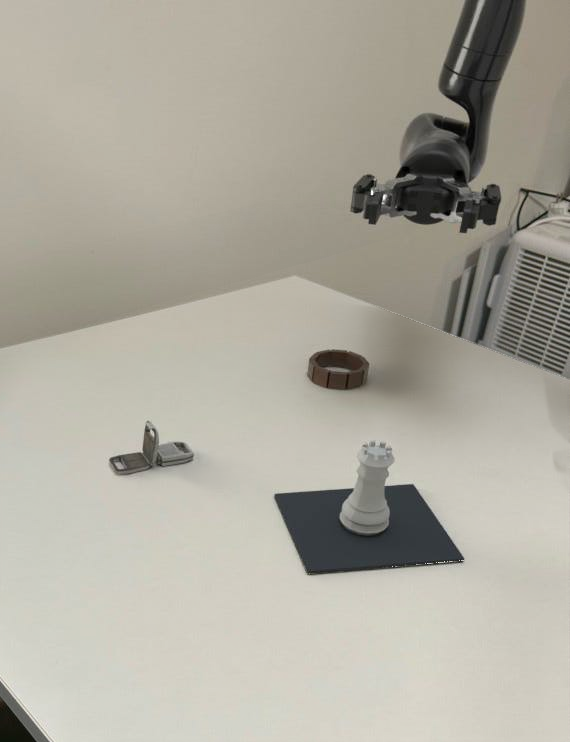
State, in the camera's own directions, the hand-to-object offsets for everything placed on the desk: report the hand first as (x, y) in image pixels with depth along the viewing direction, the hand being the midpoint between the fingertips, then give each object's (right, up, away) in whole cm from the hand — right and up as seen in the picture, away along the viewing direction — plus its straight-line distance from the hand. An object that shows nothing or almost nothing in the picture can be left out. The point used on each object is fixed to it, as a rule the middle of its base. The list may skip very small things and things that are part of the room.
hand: (418, 218), depth 78 cm
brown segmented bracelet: (-3, -11, +23) cm, 25 cm away
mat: (-6, -30, -3) cm, 30 cm away
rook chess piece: (-6, -29, -3) cm, 30 cm away
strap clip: (-26, -23, +7) cm, 35 cm away
